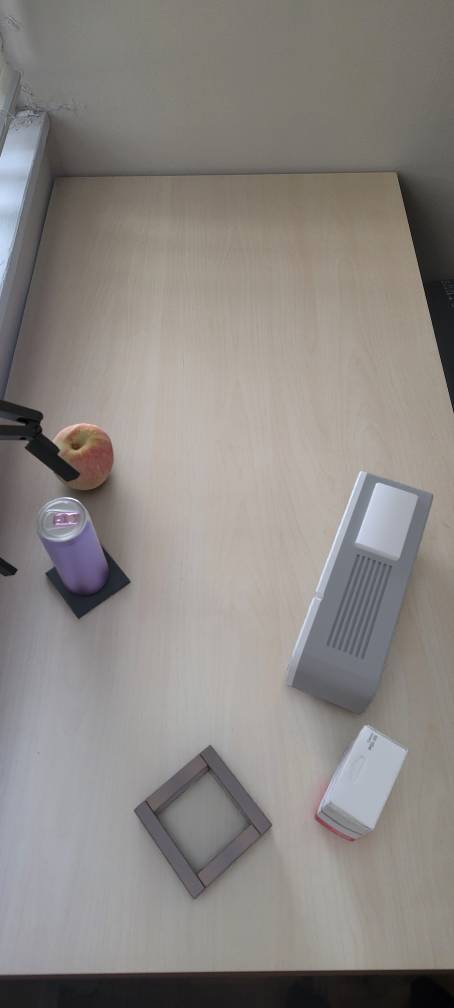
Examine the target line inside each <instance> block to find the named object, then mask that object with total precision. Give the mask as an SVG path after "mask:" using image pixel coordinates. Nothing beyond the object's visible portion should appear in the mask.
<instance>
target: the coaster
mask: <svg viewBox="0 0 454 1008" xmlns="http://www.w3.org/2000/svg"><path fill="white" fill-rule="evenodd" d="M100 545H101V548H102V551H103V553H104V556H105V559H106V561H107V564H108V567H109V577H108V580H107V582H106V584H105V585H104V586H103V587H102V588H101V589H100V590H99V591H97V592H96V593H93V594H91V595H85V596H82V595H76V594H74V593H72V592H70V591H69V590H68V589H67V588H66V586H65V585H64V583H63V581H62V579H61V577H60V575H59V573H58V572H57V570H56V568H55V566H53V567H52V568H50V569H48V570H47V571H46V572H44V574H45V575H46V577H47V578H48V580H49V581H50V582H51V584H52V585H53V586H54V588H55V589H56V590H57V592H58V594H60V596H61V597H62V599H63V600H64V601H65V603H66V604H67V605H68V607H69V608H70V609H71V611H72V613H74V615H75V617H77V619H78V620H80V619H81V618H83V617H84V616H85V615H86V614H89V613H90V612H91V611H92V610H94V609H95V608H97V607H98V606H100V605H101V604H102V603H104V602H105V601H106V600H108V599H110V598H111V597H112V596H113V595H115V594H116V593H118V592H119V591H121V590H122V589H123V588H125V587H126V586H128V585H129V584H130V583H131V580H130V578H129V577H128V576H127V575H126V573H125V572H124V571H123V570H122V568H121V567H120V566H119V565H118V564H117V562H116V561H115V560H114V559H113V557H112V556H111V555H110V554H109V553H108V551H107V550H106V549H105V547H104V546H103V545H102V544H101V543H100Z"/></svg>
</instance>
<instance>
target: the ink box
mask: <svg viewBox="0 0 454 1008" xmlns="http://www.w3.org/2000/svg"><path fill="white" fill-rule="evenodd" d="M408 753H409V749H408V748H407V747H405V746H403V745H402V744H400V743H399V742H397V741H396V740H394V739H393V738H390V737H389V736H387V735H385V734H384V733H382V732H381V731H379V730H377V729H376V728H374V727H372V726H370V725H369V724H365V725H364V726H363V727H362V729H361V730H360V731H359V733H357V735H356V736H355V738H353V740H352V741H351V742H350V743H349V745H348V746H347V747H346V748H345V751H344V752H343V755H342V756H341V759H340V761H339V763H338V765H337V767H336V770H335V771H334V773H333V776H332V778H331V780H330V782H329V784H328V786H327V788H326V790H325V792H324V794H323V796H322V799H321V801H320V803H319V806H318V807H317V809H316V812H315V814H314V819H315V821H317V822H318V823H319V824H320V825H322V826H324V827H325V828H327V829H328V830H329V831H331V832H332V833H334V834H335V835H337V836H339V837H341V838H343V839H345V840H347V841H350V842H354V841H356V840H358V839H359V838H362V837H363V836H365V835H367V834H368V833H370V832H372V831H374V830H375V828H376V826H377V824H378V821H379V819H380V817H381V815H382V813H383V810H384V808H385V805H386V803H387V801H388V799H389V796H390V794H391V792H392V789H393V787H394V785H395V783H396V781H397V779H398V776H399V774H400V771H401V769H402V767H403V764H404V762H405V759H406V758H407V755H408Z"/></svg>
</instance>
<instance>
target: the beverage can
mask: <svg viewBox="0 0 454 1008" xmlns="http://www.w3.org/2000/svg"><path fill="white" fill-rule="evenodd" d="M35 527H36V533H37V536H38V538H39V540H40V542H41V543H42V546H43V547H44V549H45V551H46V553H47V555H48V556H49V558H50V560H51V562H52V564H53V567H55V568H56V570H57V572H58V573H59V575H60V577H61V579H62V581H63V583H64V585H65V586H66V588H67V589H68V590H69V591H70V592H72V593H74V594H76V595H82V596H85V595H91V594H93V593H96V592H97V591H99V590H100V589H101V588H102V587H103V586H104V585H105V584H106V582H107V580H108V577H109V567H108V564H107V561H106V559H105V556H104V553H103V551H102V548H101V545H102V544H101V542H100V540H99V537H98V534H97V532H96V529H95V526H94V523H93V521H92V519H91V516H90V513H89V511H88V510H87V508H86V507H85V506H84V505H83V503H81V502H80V501H79V500H77V499H75V498H72V497H57V498H54V499H51V500H49V501H48V502H46V503H45V504H44V505H43V506H41V508H40V509H39V511H38V512H37V514H36V518H35ZM100 544H101V545H100Z"/></svg>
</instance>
